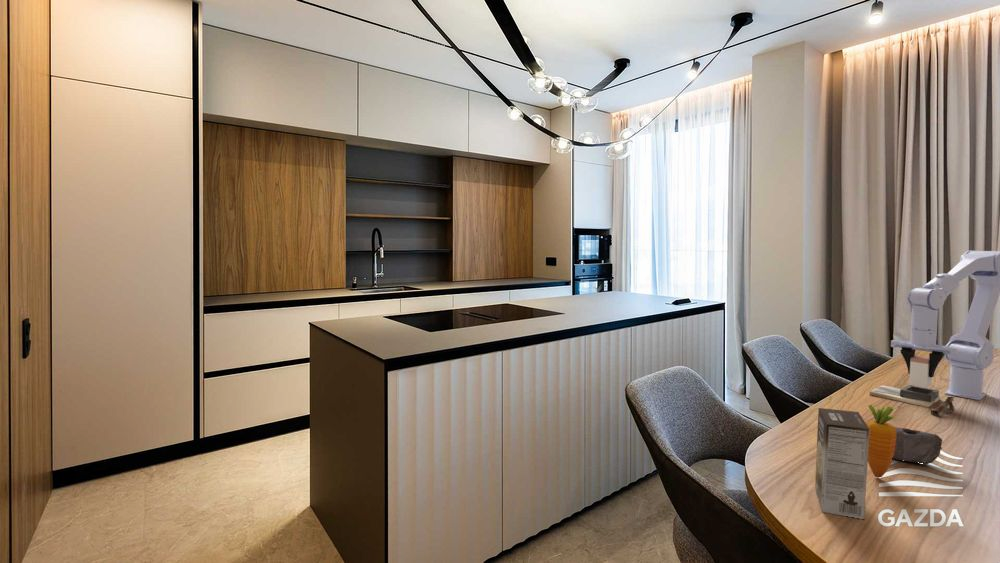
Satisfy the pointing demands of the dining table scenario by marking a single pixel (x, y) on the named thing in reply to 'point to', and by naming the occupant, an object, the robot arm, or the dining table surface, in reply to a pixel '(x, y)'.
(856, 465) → the coffee box
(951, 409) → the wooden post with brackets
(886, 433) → the carrot
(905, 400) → the board
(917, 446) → the perforated stone tool
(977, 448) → the dining table surface
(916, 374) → the plug
